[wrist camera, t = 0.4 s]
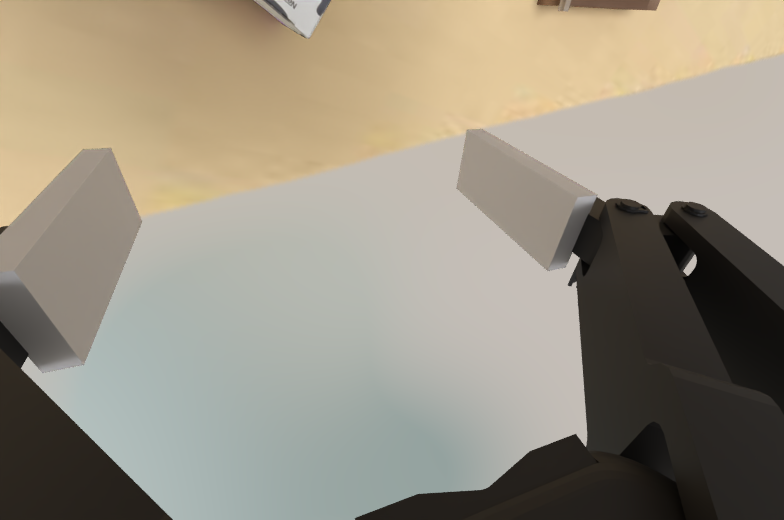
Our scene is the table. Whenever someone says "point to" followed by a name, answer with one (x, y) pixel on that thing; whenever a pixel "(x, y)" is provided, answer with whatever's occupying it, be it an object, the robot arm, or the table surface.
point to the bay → (603, 4)
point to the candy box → (297, 13)
